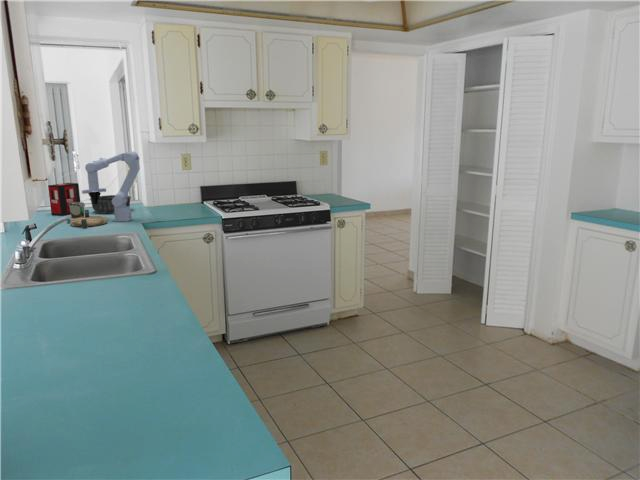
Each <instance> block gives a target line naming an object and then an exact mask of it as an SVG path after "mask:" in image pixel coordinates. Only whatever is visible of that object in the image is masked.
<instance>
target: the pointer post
mask: <svg viewBox="0 0 640 480" xmlns="http://www.w3.org/2000/svg"><path fill="white" fill-rule="evenodd" d="M81 223H82V227H81V229H83V230H84V229H87V228H88V226H87V220H86V219H82V220H81Z"/></svg>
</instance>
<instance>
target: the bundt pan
mask: <svg viewBox="0 0 640 480" xmlns="http://www.w3.org/2000/svg"><path fill="white" fill-rule="evenodd" d="M115 196H116V194H110V195H107V194H106V195H100V196H99V199H98V204H93V201H92V199H91V197H89V201H90V203H91V207H92V209H93V210H94V212H96V213H98V214H106V215H108V214H115V212H114V205H113V204H112V199H113V198H114V197H115ZM131 199H132V197H131V196H130V195H128V197H127V203H126V206H127V207H131V206H130V204H131Z"/></svg>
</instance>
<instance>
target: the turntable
mask: <svg viewBox="0 0 640 480" xmlns="http://www.w3.org/2000/svg"><path fill="white" fill-rule="evenodd" d="M82 219H86V220H87V227H95V226H96V227H97V226H101V225H105V224H107V223H108V222H107V216H101V215H98V216H96V215H94V216H93V215H92V216H90V211H89V209H84V217H79V218H71V219H70V220H71V223H70V222H69V223H70V226H71V227H80V228H82V223H81V220H82Z"/></svg>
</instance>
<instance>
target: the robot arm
mask: <svg viewBox="0 0 640 480" xmlns="http://www.w3.org/2000/svg"><path fill="white" fill-rule="evenodd" d="M119 161H121V162H124V163H125V164H126V165H127V166H128V168H129V170H128V172H127V174H126V176H125V178H124V180H123V183H122V185H121V186H120V189H119V191H118V192H117V193H116V194H115V195H116V196H115V197H114V198H113V199H112V204H113V205H114V220H113V219H112V222H130V221H131V220H133V218H132V208H131V206H129V207H127V206H126V203H127V197H128V196H129V192H130V191H131V188H132V186H133V184H134V182H135V180H136V177H137V175H138V174H139V172H140V168H141V167H140V157H139V155H138V153H137V152H135V151H129V152H128V151H126V152H123V153H118V154H117V155H114V156H112V157H109V158H103V157H100V158H99V159H98V160H93V161H92V162H88V163H87V164H85V167H84V168H85V169H84V170H85V172H87V182H88V183H87V184H88V189H82V190H81V194H82V195H85V194H88V195H89V198H91V199H92V201H93V204H98V199H99V196H101V194H102V193H103V192H104V193H105V192H107V189H106V188H105V187H104V188H100V184H99V176H98V175H99V174H98V171H100V170H104V169H106V168H108V167H109V166H110V165H111V164H113V163H116V162H119Z"/></svg>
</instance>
